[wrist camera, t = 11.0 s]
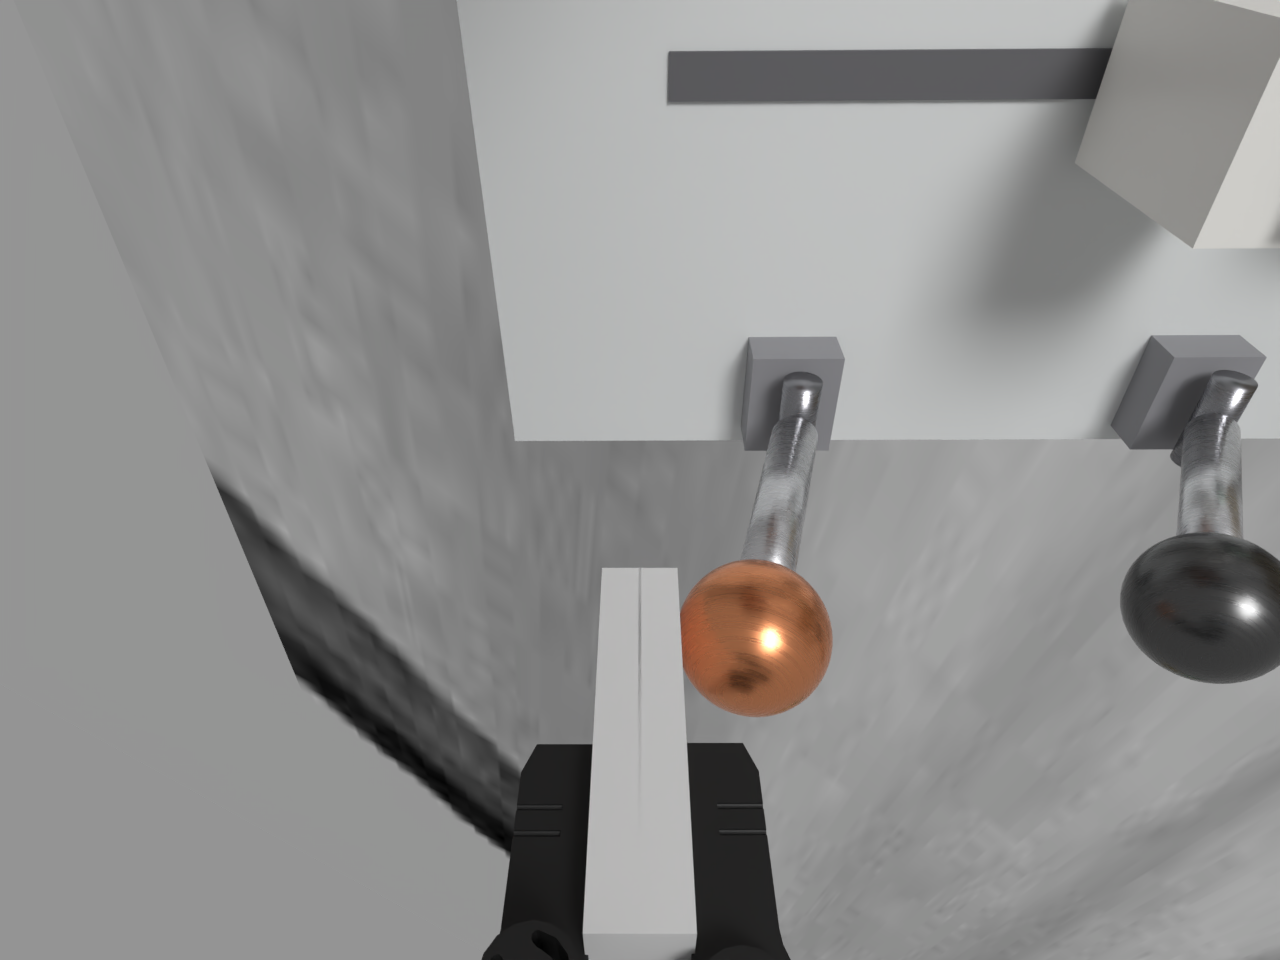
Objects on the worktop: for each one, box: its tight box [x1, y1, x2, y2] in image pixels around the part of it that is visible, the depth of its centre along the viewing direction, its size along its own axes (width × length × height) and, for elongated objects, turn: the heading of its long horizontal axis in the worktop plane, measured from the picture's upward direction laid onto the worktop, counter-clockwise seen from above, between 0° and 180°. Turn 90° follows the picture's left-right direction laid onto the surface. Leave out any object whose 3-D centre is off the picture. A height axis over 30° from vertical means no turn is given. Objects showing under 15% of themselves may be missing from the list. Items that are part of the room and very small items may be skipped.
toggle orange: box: [680, 372, 833, 717], centre depth 18 cm, size 3×3×10 cm
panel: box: [457, 0, 1280, 451], centre depth 21 cm, size 12×25×5 cm, turn 90°
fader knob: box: [1075, 0, 1280, 249], centre depth 15 cm, size 4×4×6 cm
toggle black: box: [1120, 370, 1280, 684], centre depth 18 cm, size 3×3×10 cm
